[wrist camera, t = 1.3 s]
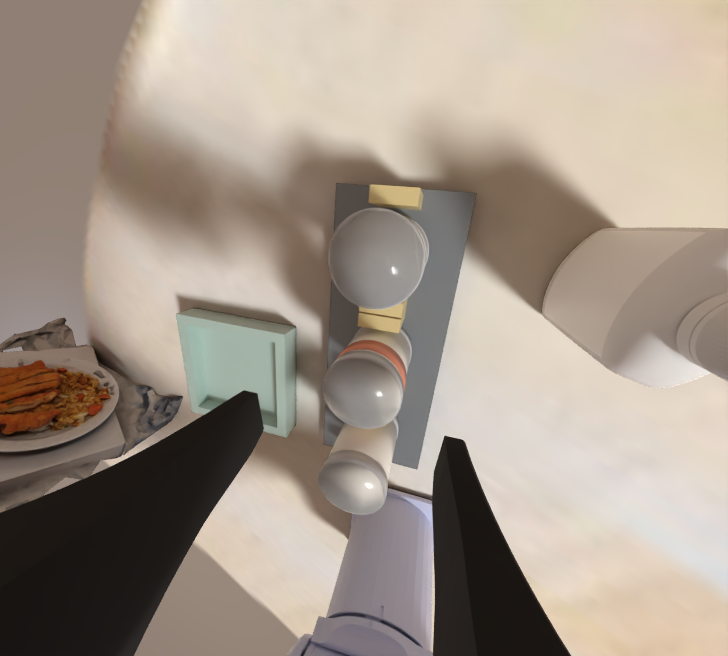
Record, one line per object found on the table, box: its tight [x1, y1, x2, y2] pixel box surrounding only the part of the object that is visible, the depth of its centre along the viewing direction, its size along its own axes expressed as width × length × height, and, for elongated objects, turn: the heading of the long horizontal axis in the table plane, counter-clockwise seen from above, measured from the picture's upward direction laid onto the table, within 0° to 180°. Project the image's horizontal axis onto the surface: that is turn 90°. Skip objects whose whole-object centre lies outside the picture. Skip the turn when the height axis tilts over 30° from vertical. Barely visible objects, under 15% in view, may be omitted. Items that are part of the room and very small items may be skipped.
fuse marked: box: [322, 327, 412, 429], centre depth 16 cm, size 4×4×6 cm
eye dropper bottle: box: [542, 228, 728, 388], centre depth 10 cm, size 4×6×12 cm
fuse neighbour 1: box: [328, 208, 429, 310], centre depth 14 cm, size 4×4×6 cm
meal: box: [0, 318, 183, 513], centre depth 23 cm, size 15×4×13 cm, turn 56°
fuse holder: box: [324, 183, 477, 469], centre depth 18 cm, size 20×8×4 cm, turn 175°
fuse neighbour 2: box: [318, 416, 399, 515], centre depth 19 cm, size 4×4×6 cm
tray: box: [176, 308, 296, 438], centre depth 24 cm, size 10×10×2 cm
